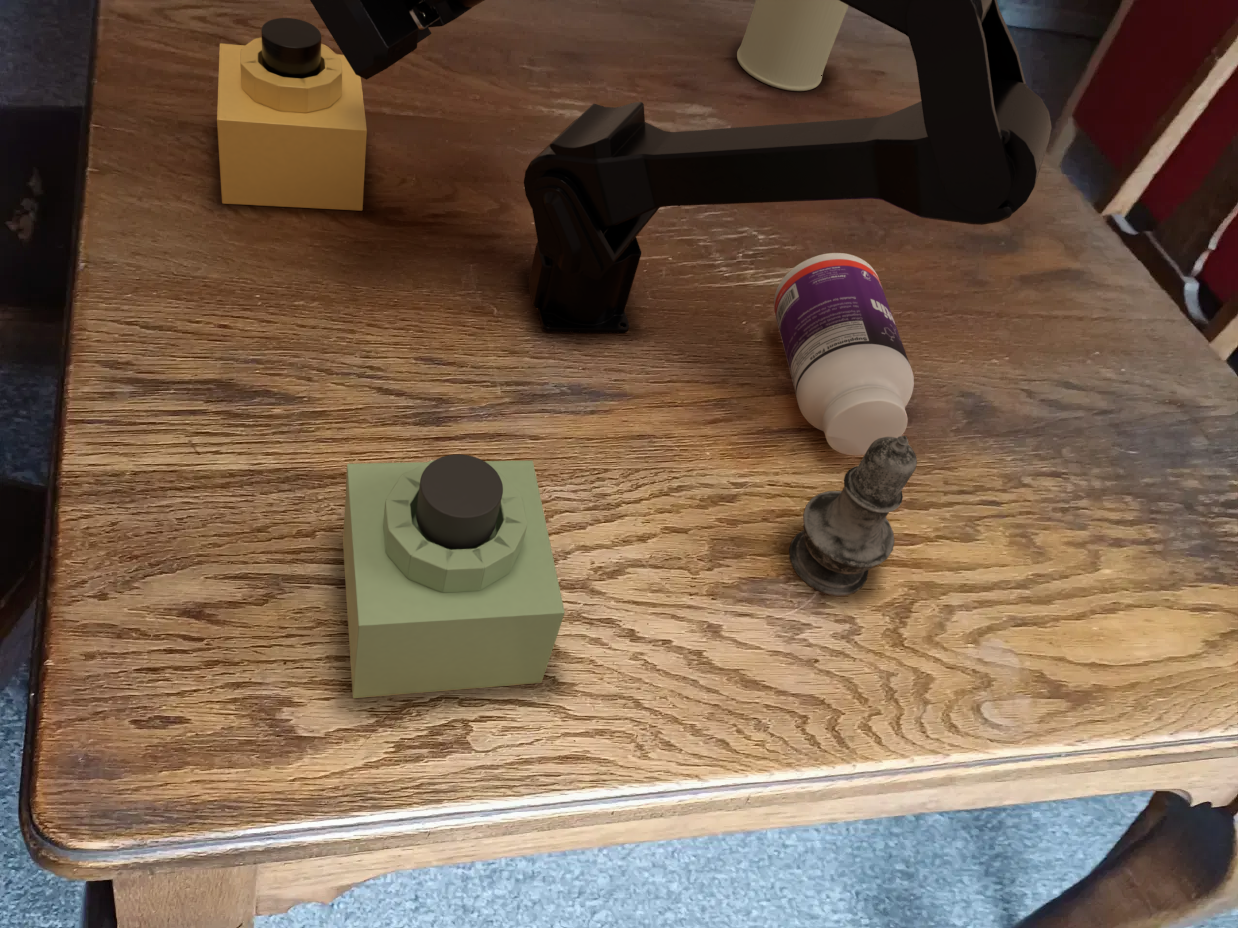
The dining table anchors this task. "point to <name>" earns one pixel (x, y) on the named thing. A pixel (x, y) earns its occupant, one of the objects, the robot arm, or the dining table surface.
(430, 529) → the front button
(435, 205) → the dining table surface
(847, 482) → the chess piece
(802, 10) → the can
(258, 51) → the yellow push button box
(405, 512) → the green push button box
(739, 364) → the dining table surface
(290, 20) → the back button
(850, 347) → the pill bottle
